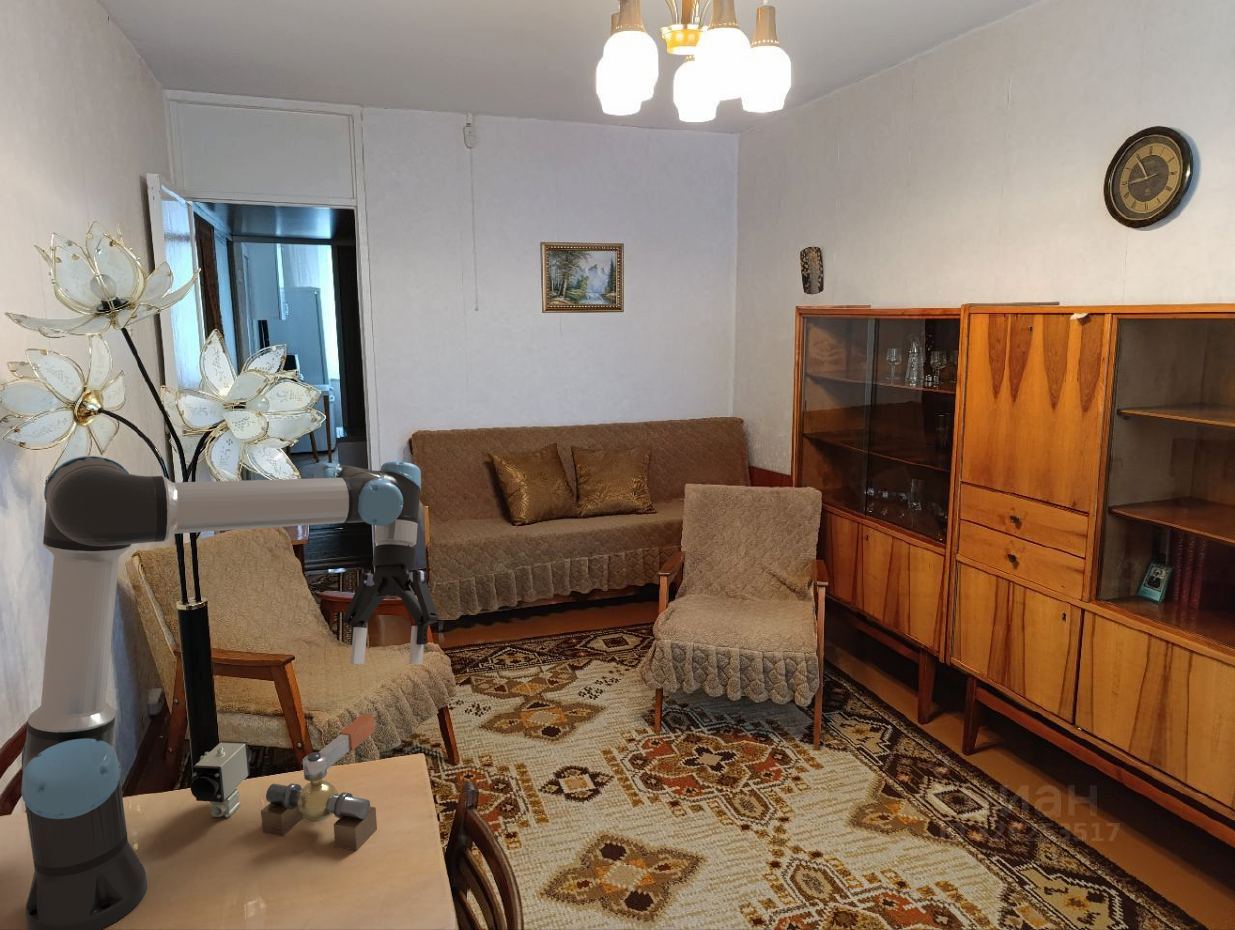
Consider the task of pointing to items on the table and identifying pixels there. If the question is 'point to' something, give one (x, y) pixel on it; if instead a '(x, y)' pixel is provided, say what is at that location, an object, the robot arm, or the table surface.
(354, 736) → the valve lever
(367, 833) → the valve stand
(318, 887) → the table surface
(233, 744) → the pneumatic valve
